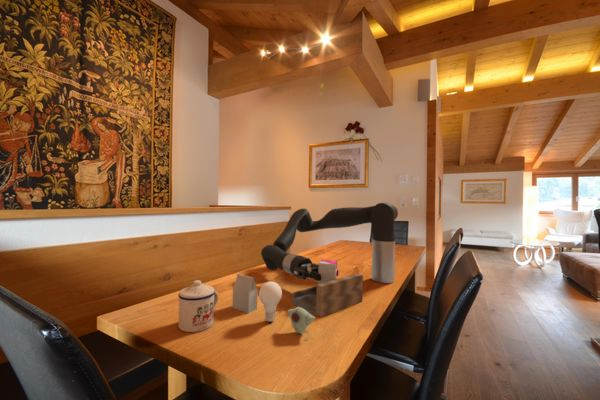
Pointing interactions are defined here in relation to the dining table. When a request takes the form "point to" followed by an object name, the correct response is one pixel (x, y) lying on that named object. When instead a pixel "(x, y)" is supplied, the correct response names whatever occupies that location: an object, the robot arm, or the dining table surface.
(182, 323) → the teacup with lid
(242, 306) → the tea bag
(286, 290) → the dining table surface
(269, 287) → the lightbulb
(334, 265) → the supplement box
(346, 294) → the cleat board
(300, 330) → the pale green triangular piece
